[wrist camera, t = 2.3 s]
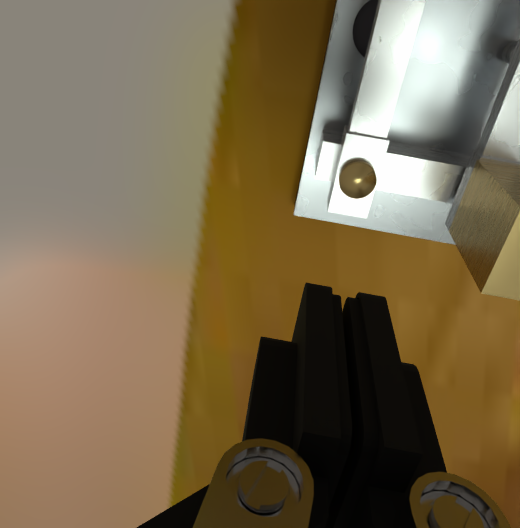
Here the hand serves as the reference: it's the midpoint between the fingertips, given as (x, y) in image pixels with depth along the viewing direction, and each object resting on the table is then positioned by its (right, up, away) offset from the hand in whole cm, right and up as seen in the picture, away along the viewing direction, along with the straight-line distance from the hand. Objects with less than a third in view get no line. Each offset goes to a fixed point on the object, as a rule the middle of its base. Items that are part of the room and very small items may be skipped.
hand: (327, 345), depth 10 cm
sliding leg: (+8, +8, +9) cm, 14 cm away
